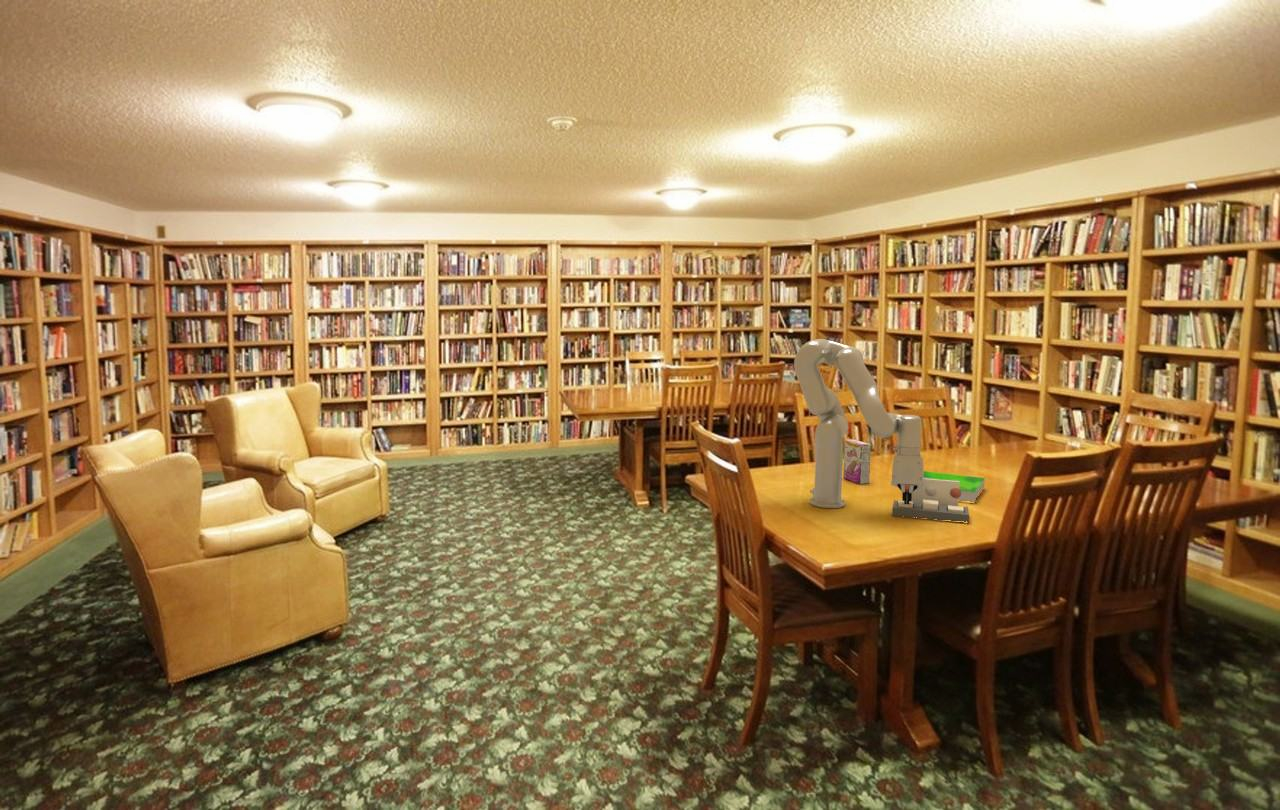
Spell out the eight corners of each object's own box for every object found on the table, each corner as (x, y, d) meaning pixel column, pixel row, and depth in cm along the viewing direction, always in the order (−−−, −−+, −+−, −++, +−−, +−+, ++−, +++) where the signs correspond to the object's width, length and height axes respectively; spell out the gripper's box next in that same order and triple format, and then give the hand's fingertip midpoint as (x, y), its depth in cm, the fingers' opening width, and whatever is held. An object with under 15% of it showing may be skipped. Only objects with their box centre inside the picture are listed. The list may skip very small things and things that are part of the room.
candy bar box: (842, 478, 303) (843, 439, 300) (852, 477, 304) (853, 438, 302) (859, 484, 292) (861, 444, 290) (869, 483, 294) (871, 443, 292)
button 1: (897, 512, 252) (897, 503, 251) (898, 508, 256) (898, 500, 256) (912, 513, 250) (912, 505, 250) (912, 510, 254) (913, 501, 254)
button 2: (947, 517, 246) (948, 509, 246) (947, 513, 250) (947, 505, 250) (963, 519, 244) (963, 510, 244) (962, 515, 249) (963, 506, 248)
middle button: (922, 511, 249) (922, 503, 248) (922, 507, 253) (923, 499, 253) (937, 513, 247) (938, 504, 246) (937, 509, 251) (938, 500, 251)
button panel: (892, 516, 250) (893, 484, 249) (894, 505, 262) (895, 476, 261) (968, 523, 241) (970, 491, 240) (966, 512, 254) (968, 482, 252)
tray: (983, 490, 285) (984, 478, 285) (973, 505, 265) (974, 492, 264) (917, 482, 299) (917, 470, 298) (902, 495, 278) (903, 482, 277)
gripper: (885, 451, 249) (883, 503, 252) (932, 454, 244) (929, 507, 246) (886, 447, 256) (884, 498, 259) (932, 450, 251) (929, 502, 253)
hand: (906, 502), depth 253 cm, fingers closed
